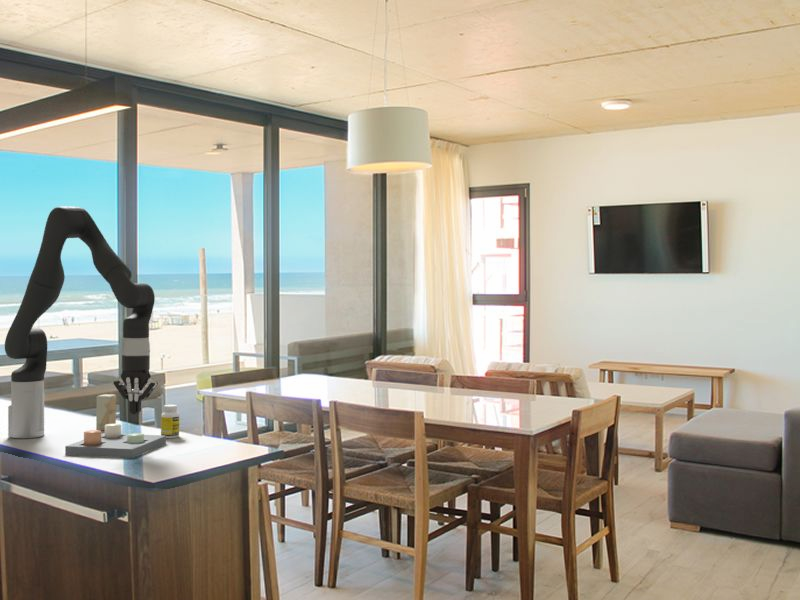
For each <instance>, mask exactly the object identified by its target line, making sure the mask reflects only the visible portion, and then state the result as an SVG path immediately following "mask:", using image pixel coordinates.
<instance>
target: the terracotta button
mask: <svg viewBox="0 0 800 600" xmlns="http://www.w3.org/2000/svg"><path fill="white" fill-rule="evenodd" d="M101 434H102V430H96V429H93V430H90V429H89V430H86V431H83V440H84V446H98V445H101Z"/></svg>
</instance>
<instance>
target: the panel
mask: <svg viewBox="0 0 800 600" xmlns="http://www.w3.org/2000/svg"><path fill="white" fill-rule="evenodd" d="M128 434H129V433H121V437H120V438H117V439H114V438H105V432H103V433H102V432H101V445H98V446H84V439H83V440H80V441H76V442H73V443H71V444H68V445H67V444H66V445H65V449H64V450H65V456H82V457H84V456H85V457H86V456H87V457H102V458H105V457H106V458H122V459H123V458H124V459H130V458H131V459H133V458H137V457H138V456H140V455H143V454H146V453H148V452H150V451H153V450H155V449H157V448H159V447H162V446H164V445H166V444H167V438H166V436H163V435H161V434H159V435H157V434H144V442H143V443H140V444H134V443H127V435H128Z"/></svg>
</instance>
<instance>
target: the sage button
mask: <svg viewBox="0 0 800 600" xmlns="http://www.w3.org/2000/svg"><path fill="white" fill-rule="evenodd" d="M127 434H128V435H127V443H134V444H140V443H143V442H144V435H145V434H144V433H142V432H141V433H139V432H136V433H127Z"/></svg>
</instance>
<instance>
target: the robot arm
mask: <svg viewBox="0 0 800 600" xmlns="http://www.w3.org/2000/svg"><path fill="white" fill-rule="evenodd" d="M67 239H80V241H82V242H83V243H84V244H85V245H86V246H87V247H88V248H89V250H90V252H91V258H92V263H93V265H94V268H95V269H96V271H97V272H98V273H99V274H100V276H102V278H103V279H104V280H105V281H106V282H107V284H108V285H109V286H110V289H111V291H112V292H113V294H114V297H115V299H116V301H117V302H118V303H119V304H120V305H122V306H123V307H125V308H127V309H132V310H131V314H130V315H129V316H127V317H125V318H124V320H123V323H122V343H121V344H122V345H121V370H122V372H121V373H120V378H119V379H117V380H114V381H113V383H112V385H114V386H115V388H116V390H117V391H118V392H119V394H120V396H121V397H122V398H123V399H126V400H128V402H129V413H130V414H131V415H134V416H135V415H139V414H140V412H142V402H143V400H145V399H148V398H149V397H150V396H151V394H152V392H154V390H155V388H156V387H157V386H158V381H154V379H152V376H151V374H150V366H151V365H150V363H151V361H150V357H151V355H150V354H151V353H150V352H151V346H150V345H151V344H150V321H151V317H152V315H153V310H154V306H155V300H156V299H155V292H154V290H153V288H152V286H151V285H149V284H148V283H141V282H140V283H137V282H136V283H133V281H131V279H132V271H131V269H130V268H129V267H128V266H127V265H126V264H125V262H124V261H123V260H122V259H121V258H120V256H118V255H117V253H116V252H114V250H113V249H112V248H111V246H110V244H109V243H108V241H107V240H106V238H105V236H104V235H103V233H102V231H101V230H100V229H99V227H98V225H97V224H96V222H95V220H94V219H93V217H92V216H91V214H90V213H89V211H87V210H86V209H85V208H83V207H81V206H66V205H65V206H57V207H54V208H52V210H51V211H50V212H49V214H48V216H47V218H46V223H45V227H44V232H43V236H42V241H41V244H40V247H39V251H38V255H37V257H36V260H35V264H34V267H33V270H32V271H31V274H30V276H29V280H28V283H27V285H26V289H25V292H24V295H23V298H22V300H21V303H20V306H19V308H18V310H17V312H16V314H15V317H14V318H13V321H12V323H11V325H10V327H9V329H8V331H7V334H6V337H5V339H4V340H5V341H4V353H5V355H6V356H7V357H8V358H10V359H14V360H23V359H26V360H25V362H24V364H22V365H21V366H20V367H19V368H17V369H15V370H13V371H12V372H11V374H10V375H11V376H10V383H11V385H10V388H11V389H10V390H11V391H10V392H11V394H10V395H11V400H10V401H11V403H10V404H11V405H8V407H7V410H8V411H7V414H8V415H7V417H8V418H7V419H8V421H7V423H8V424H7V426H8V427H7V428H8V429H7V431H8V433H7V437H8V438H12V439H34V438H40V437H43V436H45V374H46V370H47V359H48V338H47V335H46V333H45V331H44V330H43V329H41V328H39V327H34V325H35V324H36V322H37V321H38V320H39V318H41V316H42V315H43V314H45V313H46V312H47V311H48V310H49V309H50V308H52V306H53V305H54V304H55V303H56V302H57V300H58V298H59V296H60V294H61V291H62V288H63V286H64V282H65V278H66V277H65V270H64V267H63V263H62V259H61V257H62V251H63V249H64V246H65V243H66V240H67ZM145 386H146V388H145Z"/></svg>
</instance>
